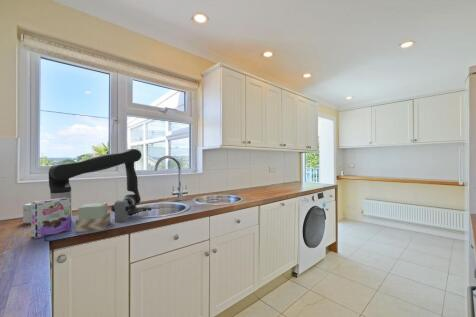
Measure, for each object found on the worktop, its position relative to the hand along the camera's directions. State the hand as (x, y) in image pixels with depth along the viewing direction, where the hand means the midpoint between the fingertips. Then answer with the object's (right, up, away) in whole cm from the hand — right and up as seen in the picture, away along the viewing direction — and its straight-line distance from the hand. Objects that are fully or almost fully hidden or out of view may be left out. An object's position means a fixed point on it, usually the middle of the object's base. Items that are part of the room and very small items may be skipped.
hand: (120, 209), depth 125 cm
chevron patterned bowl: (-9, -7, -10) cm, 15 cm away
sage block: (-9, -1, -10) cm, 13 cm away
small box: (-50, -7, +1) cm, 50 cm away
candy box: (-23, -7, -19) cm, 31 cm away
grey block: (-1, -6, +2) cm, 7 cm away
